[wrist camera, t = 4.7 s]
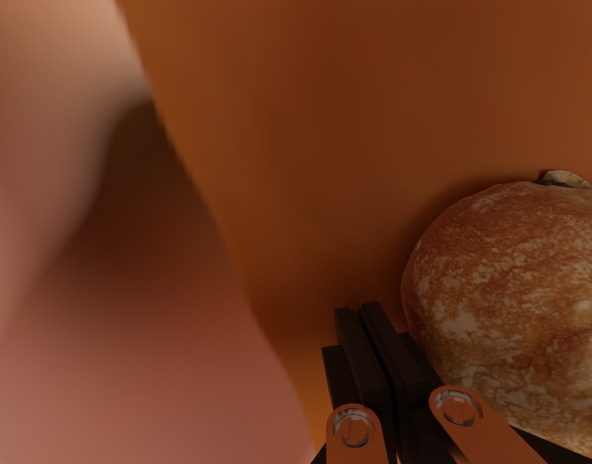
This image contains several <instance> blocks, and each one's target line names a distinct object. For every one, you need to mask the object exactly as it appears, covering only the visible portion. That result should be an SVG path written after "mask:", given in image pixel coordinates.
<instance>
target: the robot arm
mask: <svg viewBox="0 0 592 464" xmlns="http://www.w3.org/2000/svg"><path fill="white" fill-rule="evenodd" d="M358 317H359V319H358ZM358 317H357V315H356V312H355V310H354V309H352V310H349V308H348V307H341V308H336V309H334V318H335V324H336V331H337V338H338V344H339V345H334V346H329V347H323V348H321V350H322V356H323V362H324V367H325V373H326V378H327V383H328V388H329V393H330V398H331V402H332V407H333V412H332V413H331V414H330V416H329V418H328V420H327V426H326V443H325V444H324V446H323V447H322V448H321V450H320V451H319V453H318V454H317V455H316V457H315V458H314V460H313V461H312V462H311V464H397V455H398V457H399V460H400V462H401V464H592V459H590V458H588V457H586V456H584V455H581V454H579V453H576V452H574V451H572V450H569V449H567V448H564V447H562V446H560V445H557V444H555V443H552V442H550V441H548V440H545V439H543V438H540V437H538V436H536V435H533V434H531V433H528V432H526V431H524V430H521V429H519V428H517V427H514V426H512V425H509V424H507V423H506V422H505V421H504V420H503V419H502V418H501V417H500V416H499V415H498V414H497V413H496V412H495V411H494V410H493V409H492V408H491V407H490V406H489V405H488V404H487V403H486V402H485V401H484V400H483V399H482V398H481V397H479V396H478V395H477V394H476V393H474V392H472V391H470V390H468V389H466V388H463V387H459V386H453V385H447V386H446V385H445V384H444V383H443V381H442V380H441V378H440V377H439V375H438V374H437V372H436V371H435V370H434V368H433V367H432V365H431V364H430V362H429V361H428V359H427V358H426V357H425V355H424V354H423V352H422V351H421V349H420V348H419V346H418V345H417V344H416V342H415V341H414V339H413V338H412V336H411V335H410V334H409V333H408V332H404V333H399V334H398V333H397V332H396V330H395V329H394V327H393V325H392V324H391V322H390V321H389V319H388V318H387V316H386V314H385V313H384V311H383V310H382V308H381V306H380V305H379V303H378V302H377V301H374V302H369V303H363V304H362V308H358ZM396 452H397V455H396Z"/></svg>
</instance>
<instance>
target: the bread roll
mask: <svg viewBox="0 0 592 464" xmlns="http://www.w3.org/2000/svg"><path fill="white" fill-rule="evenodd" d="M400 291H401V300H402V304H403V306H404V313H405V315H406V318H407V323H408V329H409V333H410V335H411V336H412V338H413V339H414V341H415V342H416V344H417V345H418V346H419V348H420V349H421V351H422V352H423V354H424V355H425V357H426V358H427V359H428V361H429V362H430V364H431V365H432V367H433V368H434V370H435V371H436V372H437V374H438V375H439V377H440V378H441V380H442V381H443V383H444V384H445V385H446V386H447V385H453V386H459V387H463V388H466V389H468V390H470V391H472V392H474V393H476V394H477V395H478V396H479V397H481V398H482V399H483V400H484V401H485V402H486V403H487V404H488V405H489V406H490V407H491V408H492V409H493V410H494V411H495V412H496V413H497V414H498V415H499V416H500V417H501V418H502V419H503V420H504V421H505V422H506V423H507V424H509V425H512V426H514V427H517V428H519V429H521V430H524V431H526V432H528V433H531V434H533V435H536V436H538V437H540V438H543V439H545V440H548V441H550V442H552V443H555V444H557V445H560V446H562V447H564V448H567V449H569V450H572V451H574V452H576V453H579V454H581V455H584V456H586V457H588V458H590V459H592V186H591V185H590V183H589V182H588V180H583V179H582V178H581V177H579V176H577V175H576V174H574V173H572V172H569V171H564V170H554V171H547V173H546V174H545V176H544V178H543V179H542V180H537V181H523V182H521V181H518V182H514V183H506V184H496V185H493V186H491V187H489V188H487V189H485V190H483V191H481V192H479V193H476V194H474V195H472V196H469V197H466V198H463V199H461V200H459V201H457V202H456V203H454V204H453V205H451V206H449V207H448V208H447V209H446V210H445V211H444V212H443V213H442V214H440V215H439V216H438V217H437V218H436V219H435V220H434V221H433V222H432V223H431V224H430V225H429V227H428V228H427V229H426V230H425V232H424V233H423V234H422V236H421V237H420V239H419V241H418V242H417V244H416V245H415V247H414V249H413V251H412V253H411V255H410V258H409V260H408V262H407V264H406V267H405V269H404V271H403V274H402V280H401V286H400Z"/></svg>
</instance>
